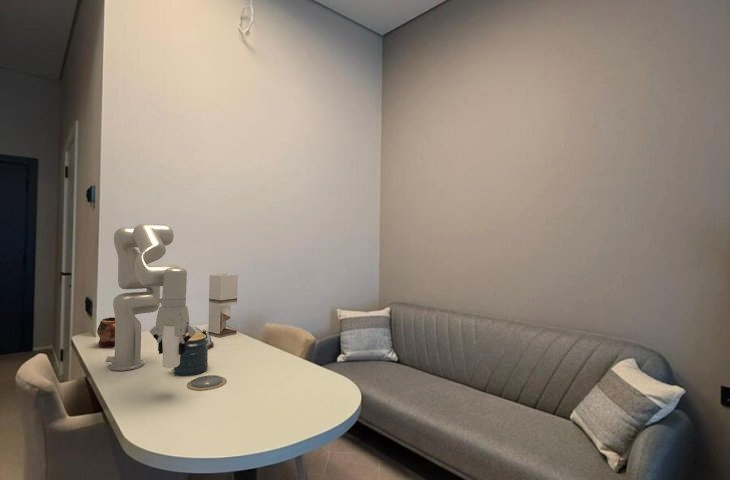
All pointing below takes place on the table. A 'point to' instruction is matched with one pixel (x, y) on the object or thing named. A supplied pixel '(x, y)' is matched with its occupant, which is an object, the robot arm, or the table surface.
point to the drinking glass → (170, 348)
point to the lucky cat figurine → (210, 343)
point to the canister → (194, 356)
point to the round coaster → (206, 382)
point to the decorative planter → (107, 332)
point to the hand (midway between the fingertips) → (172, 352)
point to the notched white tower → (221, 303)
